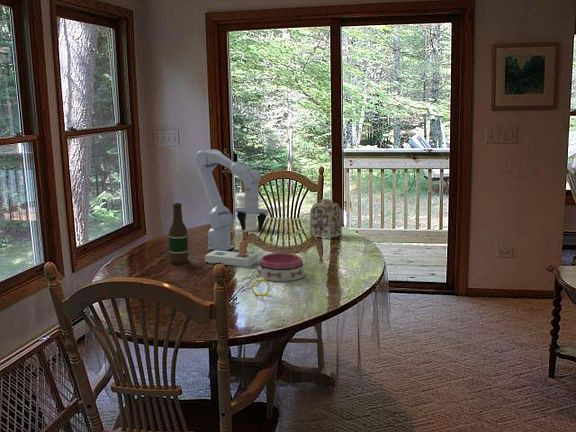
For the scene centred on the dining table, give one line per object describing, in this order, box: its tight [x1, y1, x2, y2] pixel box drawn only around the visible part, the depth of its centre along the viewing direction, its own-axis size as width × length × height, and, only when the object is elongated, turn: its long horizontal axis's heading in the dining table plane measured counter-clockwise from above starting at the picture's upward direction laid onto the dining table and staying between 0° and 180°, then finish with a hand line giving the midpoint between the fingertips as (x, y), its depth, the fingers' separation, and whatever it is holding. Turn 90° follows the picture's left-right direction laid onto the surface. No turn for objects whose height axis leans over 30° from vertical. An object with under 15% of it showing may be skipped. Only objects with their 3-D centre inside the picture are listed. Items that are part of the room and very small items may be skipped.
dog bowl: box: [255, 252, 306, 283], centre depth 225 cm, size 18×19×7 cm
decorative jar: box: [309, 198, 343, 238], centre depth 288 cm, size 12×12×18 cm
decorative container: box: [234, 192, 258, 233], centre depth 303 cm, size 12×12×18 cm
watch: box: [251, 277, 270, 297], centre depth 201 cm, size 6×3×6 cm, turn 95°
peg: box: [238, 239, 247, 258], centre depth 241 cm, size 3×3×9 cm
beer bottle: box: [168, 202, 189, 265], centre depth 241 cm, size 8×8×24 cm
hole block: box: [204, 250, 258, 268], centre depth 243 cm, size 19×9×3 cm, turn 71°
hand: (251, 230), depth 253 cm, fingers open, 7 cm apart
